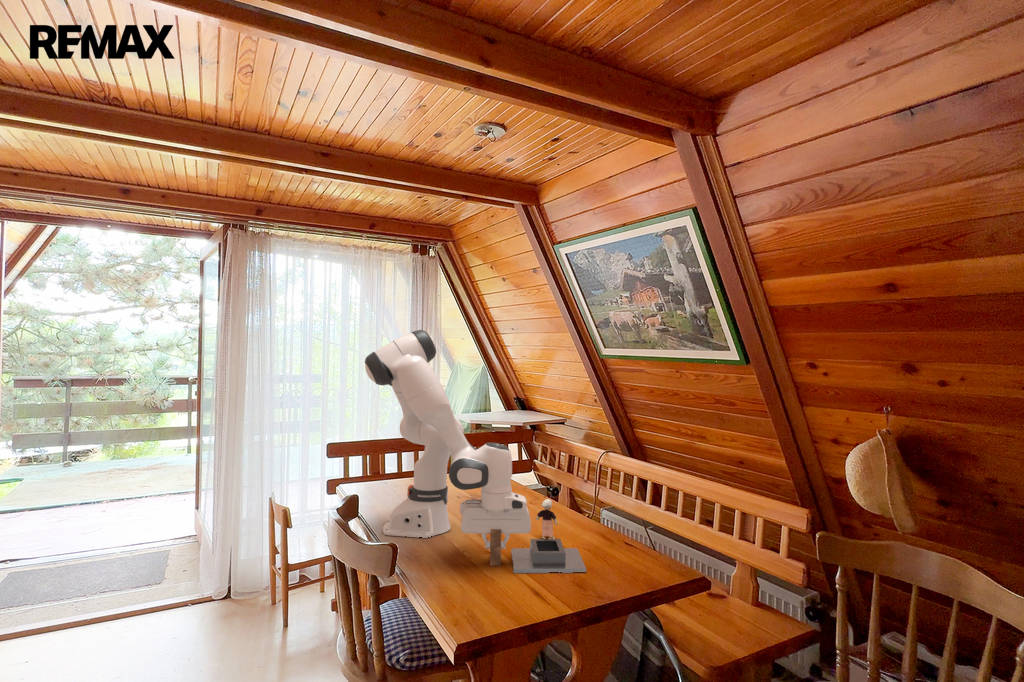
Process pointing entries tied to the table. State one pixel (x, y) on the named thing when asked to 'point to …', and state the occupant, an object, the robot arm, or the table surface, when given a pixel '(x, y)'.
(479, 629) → the table surface
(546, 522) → the grandmother figurine
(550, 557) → the grey socket base
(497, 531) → the walnut wedge
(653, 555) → the table surface
